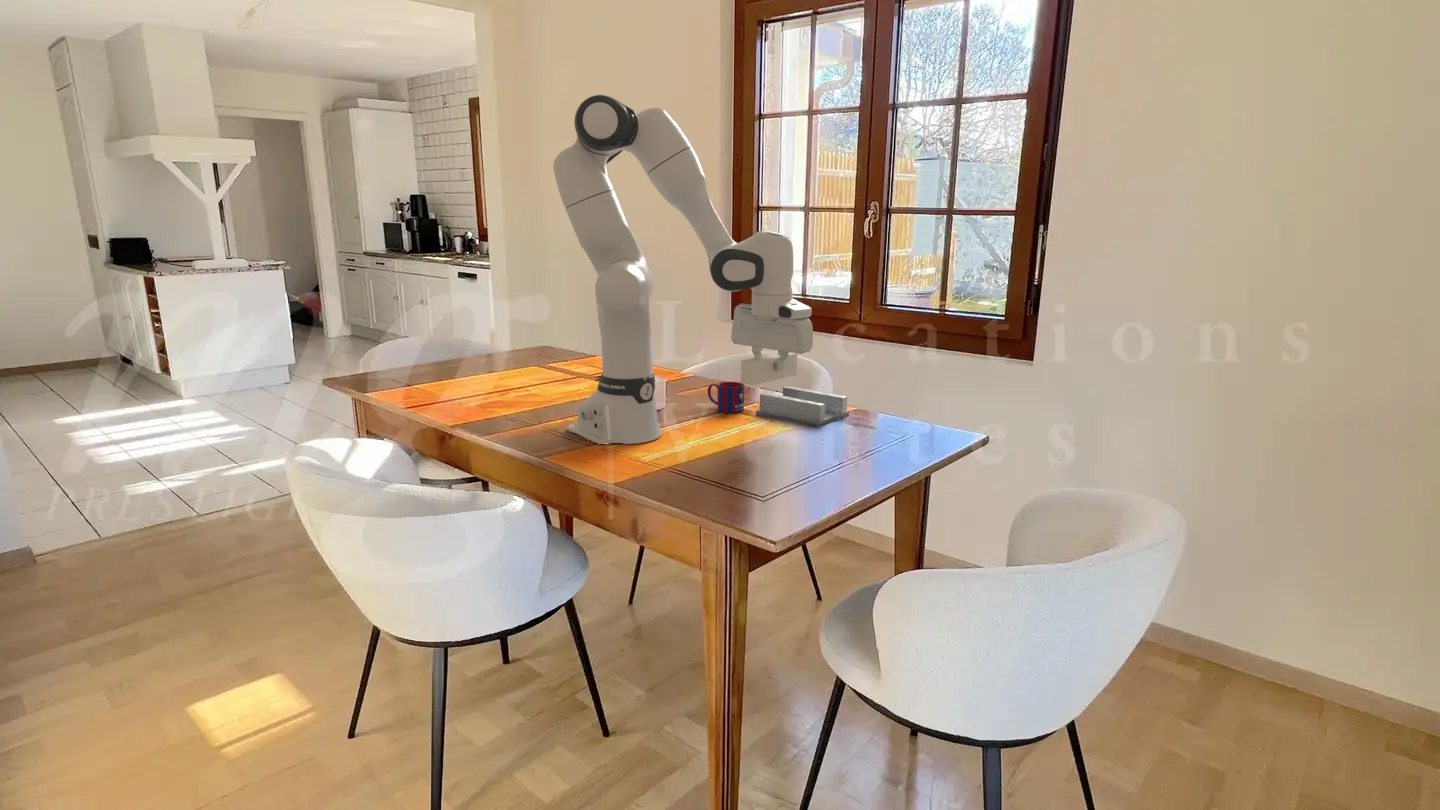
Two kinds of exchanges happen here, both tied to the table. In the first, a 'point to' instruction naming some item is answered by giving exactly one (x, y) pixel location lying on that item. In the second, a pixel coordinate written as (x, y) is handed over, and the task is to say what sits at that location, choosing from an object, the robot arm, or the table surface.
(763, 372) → the clay strip
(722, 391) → the mug
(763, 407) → the grey channel stand
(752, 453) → the table surface
